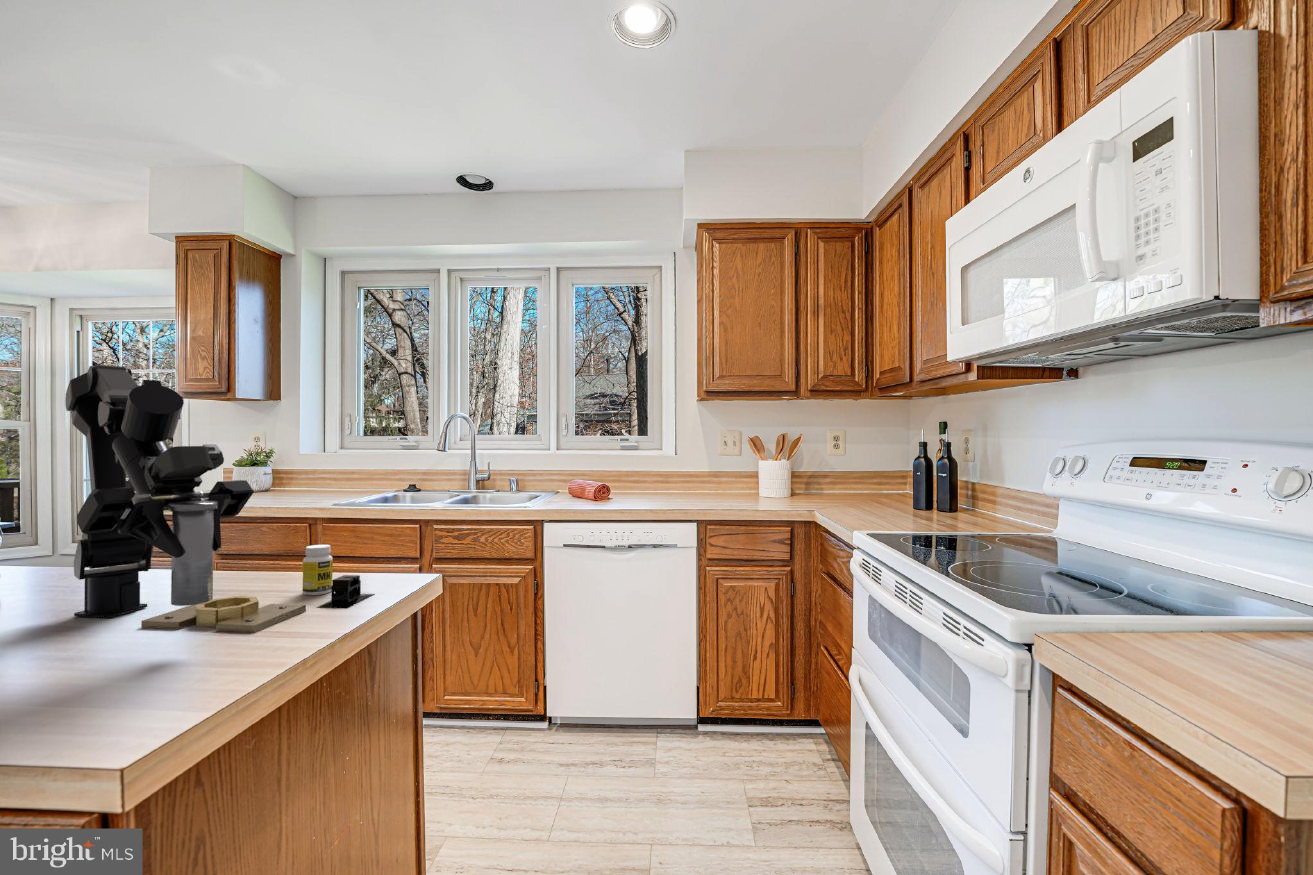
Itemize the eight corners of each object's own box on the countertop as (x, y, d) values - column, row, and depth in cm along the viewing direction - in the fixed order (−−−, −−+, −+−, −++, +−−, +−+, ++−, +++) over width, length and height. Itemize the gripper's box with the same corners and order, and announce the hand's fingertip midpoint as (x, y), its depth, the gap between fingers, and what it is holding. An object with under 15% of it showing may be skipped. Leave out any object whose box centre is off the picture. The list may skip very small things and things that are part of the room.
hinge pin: (156, 605, 79) (157, 504, 79) (191, 594, 85) (192, 500, 84) (192, 607, 79) (194, 506, 79) (225, 596, 84) (227, 501, 84)
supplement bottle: (319, 596, 109) (319, 549, 109) (296, 595, 110) (296, 547, 110) (338, 590, 114) (338, 544, 114) (316, 588, 115) (316, 543, 115)
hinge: (141, 627, 91) (141, 610, 91) (204, 607, 102) (204, 592, 102) (254, 632, 89) (254, 614, 89) (305, 611, 100) (305, 595, 100)
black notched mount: (346, 614, 100) (346, 586, 100) (302, 614, 100) (302, 586, 100) (383, 594, 112) (383, 569, 112) (344, 594, 113) (344, 569, 113)
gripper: (90, 423, 74) (142, 521, 70) (246, 425, 92) (296, 504, 87) (55, 484, 78) (102, 582, 73) (212, 475, 95) (258, 554, 90)
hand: (199, 552), depth 81 cm, fingers closed on hinge pin, 4 cm apart
